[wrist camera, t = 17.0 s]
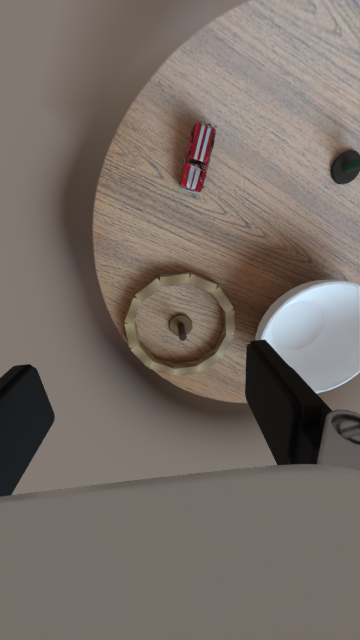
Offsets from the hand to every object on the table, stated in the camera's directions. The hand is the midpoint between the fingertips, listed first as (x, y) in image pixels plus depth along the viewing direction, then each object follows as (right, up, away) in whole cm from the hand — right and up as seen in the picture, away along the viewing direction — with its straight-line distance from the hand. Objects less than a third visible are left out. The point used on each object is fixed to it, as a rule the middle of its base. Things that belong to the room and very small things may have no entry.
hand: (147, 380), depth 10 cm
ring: (+2, +2, +30) cm, 30 cm away
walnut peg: (+2, +2, +30) cm, 30 cm away
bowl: (+23, +2, +31) cm, 39 cm away
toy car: (+4, +25, +21) cm, 32 cm away
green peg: (+25, +24, +22) cm, 41 cm away
